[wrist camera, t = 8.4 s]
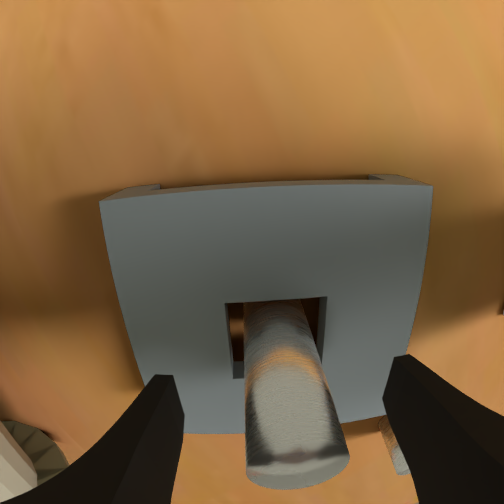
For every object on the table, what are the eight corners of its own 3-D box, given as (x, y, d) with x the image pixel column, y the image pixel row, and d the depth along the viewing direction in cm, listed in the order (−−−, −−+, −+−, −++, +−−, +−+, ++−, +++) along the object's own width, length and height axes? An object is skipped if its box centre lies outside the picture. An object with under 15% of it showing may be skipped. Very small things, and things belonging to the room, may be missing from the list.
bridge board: (397, 175, 13) (433, 185, 10) (370, 379, 17) (386, 414, 14) (127, 187, 13) (98, 201, 10) (171, 394, 17) (162, 432, 14)
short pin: (414, 404, 18) (437, 449, 14) (404, 425, 19) (424, 468, 15) (382, 412, 18) (403, 460, 14) (374, 433, 19) (391, 478, 15)
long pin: (302, 276, 14) (363, 436, 6) (293, 323, 15) (333, 485, 7) (245, 272, 14) (250, 442, 6) (241, 321, 15) (242, 490, 7)
